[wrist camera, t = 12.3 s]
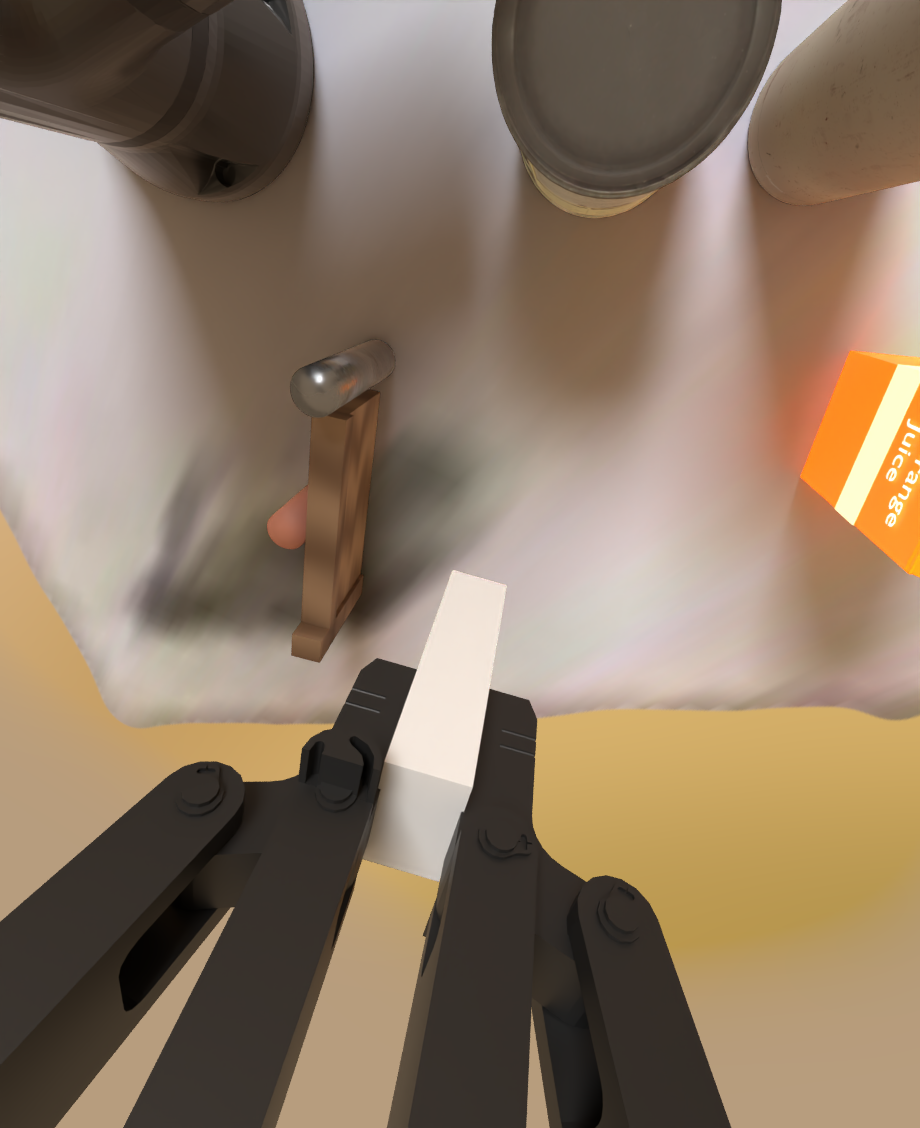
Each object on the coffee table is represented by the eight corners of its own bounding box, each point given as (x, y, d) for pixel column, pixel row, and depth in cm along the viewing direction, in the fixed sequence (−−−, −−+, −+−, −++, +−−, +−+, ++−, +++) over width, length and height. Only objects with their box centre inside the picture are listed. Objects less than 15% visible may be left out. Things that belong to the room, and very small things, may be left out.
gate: (355, 386, 42) (301, 418, 33) (384, 392, 41) (337, 427, 33) (338, 587, 50) (291, 655, 42) (361, 593, 50) (319, 662, 42)
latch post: (300, 502, 48) (262, 537, 42) (311, 473, 47) (273, 505, 40) (331, 518, 48) (298, 555, 42) (343, 490, 47) (311, 524, 41)
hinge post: (353, 367, 42) (284, 402, 31) (366, 332, 41) (299, 356, 30) (386, 386, 42) (328, 426, 32) (401, 351, 41) (346, 381, 30)
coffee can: (482, 111, 34) (436, 23, 21) (632, -57, 29) (684, -288, 17) (582, 259, 36) (593, 257, 24) (733, 125, 32) (839, 40, 20)
